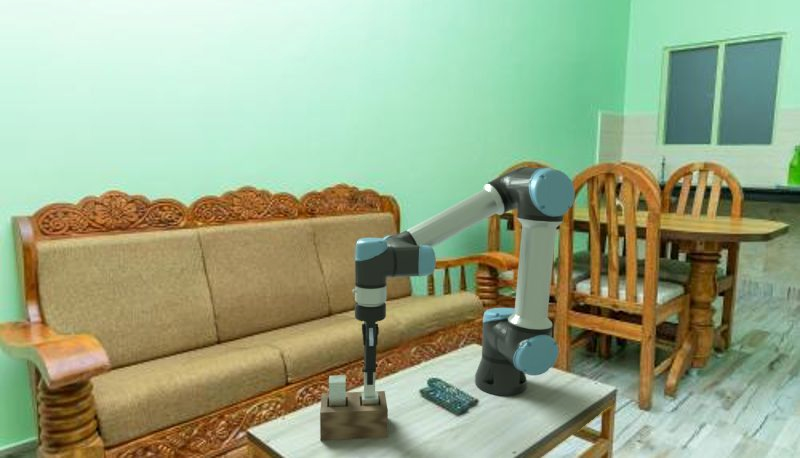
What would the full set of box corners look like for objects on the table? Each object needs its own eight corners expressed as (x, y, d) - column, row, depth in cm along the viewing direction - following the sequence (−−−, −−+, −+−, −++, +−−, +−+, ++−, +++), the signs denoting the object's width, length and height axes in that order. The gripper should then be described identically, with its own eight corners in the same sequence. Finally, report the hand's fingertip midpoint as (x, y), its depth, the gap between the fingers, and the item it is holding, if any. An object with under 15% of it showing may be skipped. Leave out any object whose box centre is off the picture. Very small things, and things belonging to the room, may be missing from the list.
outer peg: (345, 398, 130) (345, 375, 129) (345, 406, 126) (345, 382, 125) (329, 399, 129) (329, 375, 129) (329, 407, 126) (328, 382, 125)
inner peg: (377, 414, 131) (377, 391, 130) (378, 422, 127) (378, 399, 127) (361, 415, 131) (361, 392, 130) (362, 423, 127) (362, 399, 126)
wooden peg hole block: (384, 416, 135) (384, 391, 134) (387, 437, 125) (387, 410, 124) (322, 418, 133) (321, 393, 132) (320, 440, 123) (320, 412, 122)
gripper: (354, 295, 131) (353, 383, 134) (355, 310, 118) (354, 408, 121) (383, 294, 132) (382, 382, 135) (388, 310, 119) (386, 407, 122)
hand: (369, 394), depth 128 cm, fingers closed
